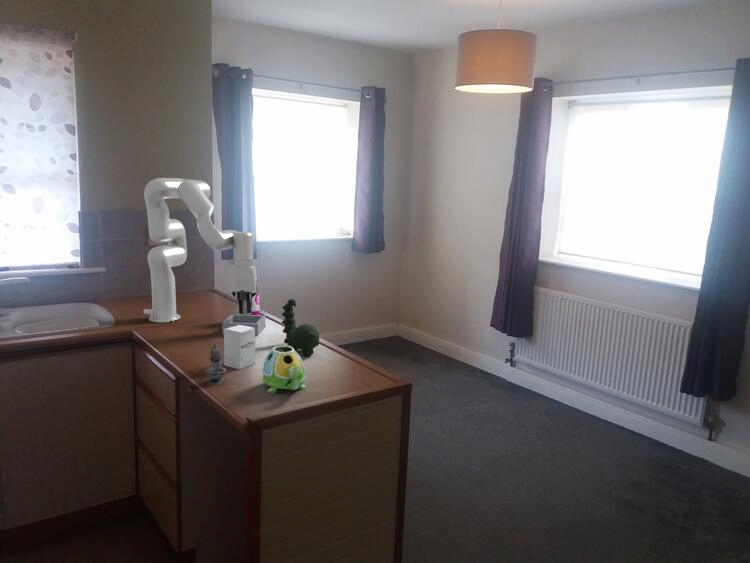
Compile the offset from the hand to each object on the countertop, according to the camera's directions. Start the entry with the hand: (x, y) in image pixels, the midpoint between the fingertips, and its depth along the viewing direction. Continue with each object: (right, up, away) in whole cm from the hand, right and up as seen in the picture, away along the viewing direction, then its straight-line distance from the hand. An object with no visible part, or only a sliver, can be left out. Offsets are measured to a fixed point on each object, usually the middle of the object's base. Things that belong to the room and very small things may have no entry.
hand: (244, 307), depth 233 cm
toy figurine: (+25, -15, -23) cm, 37 cm away
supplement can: (-1, -7, +16) cm, 17 cm away
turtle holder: (+26, -21, -60) cm, 69 cm away
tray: (0, -9, +2) cm, 10 cm away
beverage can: (0, -3, +1) cm, 3 cm away
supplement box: (+7, -17, -40) cm, 44 cm away
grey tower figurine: (+4, -20, -56) cm, 59 cm away
